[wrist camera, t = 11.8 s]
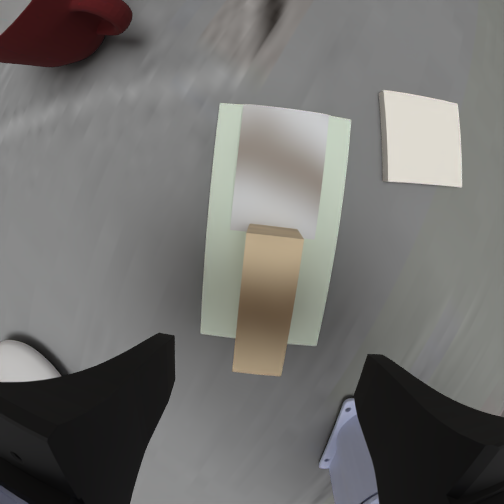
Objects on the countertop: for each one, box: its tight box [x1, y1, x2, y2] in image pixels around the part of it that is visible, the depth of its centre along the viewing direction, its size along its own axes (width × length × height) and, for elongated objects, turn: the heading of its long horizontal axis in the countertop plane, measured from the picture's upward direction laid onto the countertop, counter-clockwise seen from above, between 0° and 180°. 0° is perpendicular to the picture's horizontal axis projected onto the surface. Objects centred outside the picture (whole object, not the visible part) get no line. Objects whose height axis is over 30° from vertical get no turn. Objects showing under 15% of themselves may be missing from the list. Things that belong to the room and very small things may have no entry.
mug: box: [0, 0, 132, 67], centre depth 12 cm, size 10×8×10 cm
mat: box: [200, 103, 351, 346], centre depth 19 cm, size 15×8×1 cm, turn 174°
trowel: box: [230, 104, 329, 376], centre depth 17 cm, size 15×5×4 cm, turn 174°
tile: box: [379, 90, 462, 187], centre depth 17 cm, size 1×6×6 cm
